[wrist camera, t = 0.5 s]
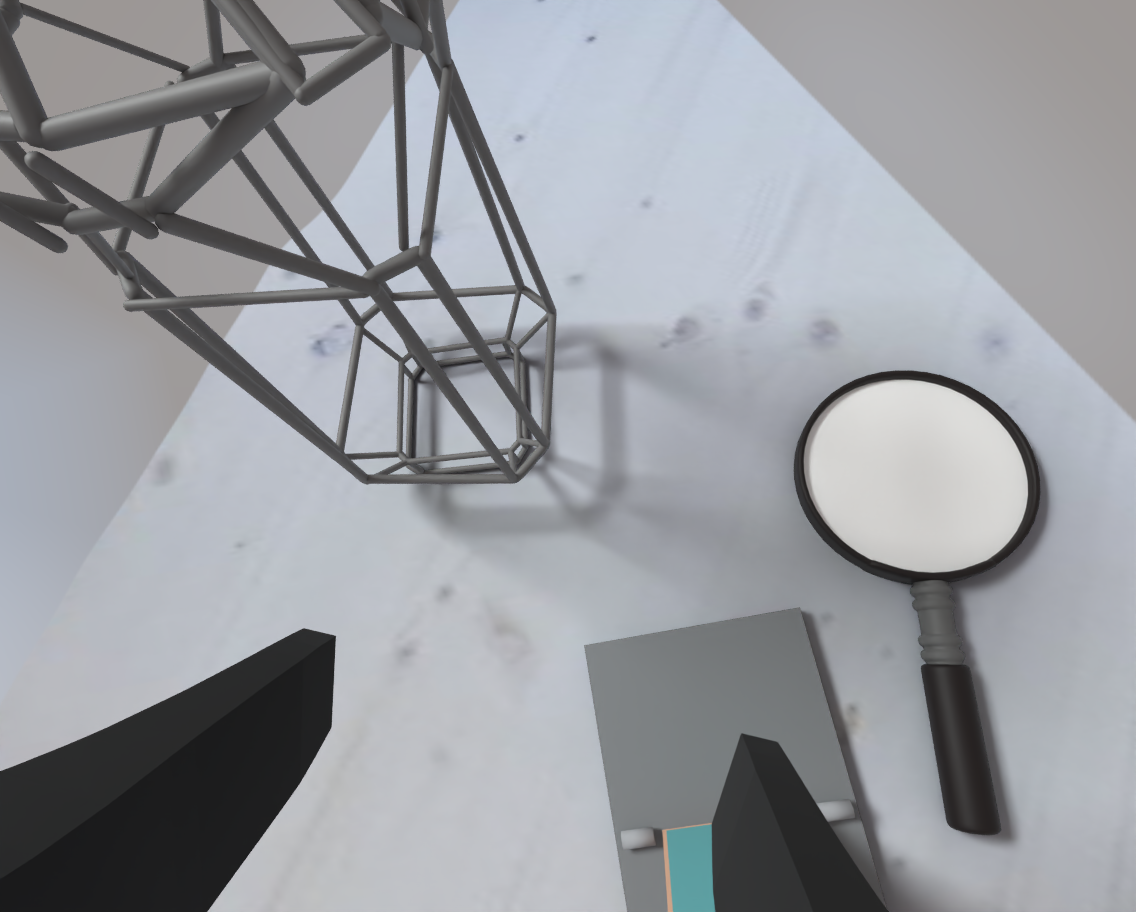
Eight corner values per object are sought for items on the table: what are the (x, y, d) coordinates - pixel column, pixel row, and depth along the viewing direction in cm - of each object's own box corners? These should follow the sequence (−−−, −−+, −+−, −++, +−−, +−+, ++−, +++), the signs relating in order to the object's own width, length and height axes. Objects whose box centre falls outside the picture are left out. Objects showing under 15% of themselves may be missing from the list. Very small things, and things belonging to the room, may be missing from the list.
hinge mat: (919, 1038, 26) (937, 1066, 25) (655, 1065, 28) (654, 1093, 26) (796, 608, 33) (803, 606, 31) (586, 645, 34) (581, 645, 32)
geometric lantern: (377, 323, 44) (-410, -640, 12) (585, 307, 42) (337, -927, 10) (349, 530, 39) (-1238, -177, 6) (586, 524, 37) (28, -590, 4)
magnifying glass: (829, 815, 30) (840, 826, 28) (782, 389, 38) (788, 373, 36) (1108, 833, 28) (1142, 846, 26) (995, 378, 36) (1014, 361, 34)
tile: (880, 962, 20) (873, 930, 20) (677, 985, 21) (670, 954, 21) (812, 831, 28) (807, 808, 28) (666, 851, 29) (662, 828, 29)
